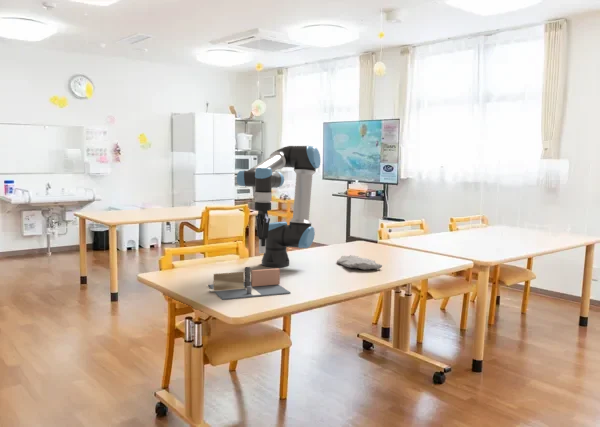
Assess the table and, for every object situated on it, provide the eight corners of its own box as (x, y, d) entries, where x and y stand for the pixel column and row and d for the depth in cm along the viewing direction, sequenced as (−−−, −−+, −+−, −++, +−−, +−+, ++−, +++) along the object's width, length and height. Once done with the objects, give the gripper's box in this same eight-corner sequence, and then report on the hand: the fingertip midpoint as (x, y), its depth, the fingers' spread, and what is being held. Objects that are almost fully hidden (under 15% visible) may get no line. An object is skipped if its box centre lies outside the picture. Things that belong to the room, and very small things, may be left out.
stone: (384, 269, 275) (351, 260, 301) (384, 259, 275) (351, 250, 301) (358, 274, 267) (326, 264, 293) (357, 264, 266) (325, 254, 292)
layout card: (204, 286, 234) (204, 278, 234) (271, 280, 247) (271, 273, 247) (217, 300, 212) (217, 291, 212) (290, 293, 225) (290, 285, 225)
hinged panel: (251, 285, 233) (251, 270, 233) (278, 283, 239) (278, 268, 238) (252, 286, 232) (252, 271, 231) (279, 284, 237) (279, 269, 236)
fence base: (213, 289, 227) (213, 269, 226) (249, 286, 233) (249, 266, 232) (214, 290, 225) (214, 270, 224) (250, 287, 231) (250, 267, 230)
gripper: (250, 200, 241) (249, 251, 244) (259, 202, 229) (258, 255, 232) (266, 200, 244) (265, 250, 247) (275, 202, 232) (274, 255, 235)
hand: (262, 252), depth 239 cm, fingers closed
